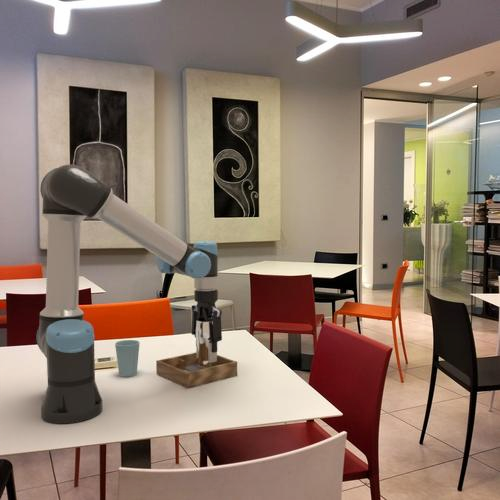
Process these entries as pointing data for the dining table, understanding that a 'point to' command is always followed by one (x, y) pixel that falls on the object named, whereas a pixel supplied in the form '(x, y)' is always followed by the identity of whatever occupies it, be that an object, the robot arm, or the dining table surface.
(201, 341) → the shiny metal cylinder
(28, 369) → the dining table surface
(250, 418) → the dining table surface
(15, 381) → the dining table surface
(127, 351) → the cup
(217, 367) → the caddy
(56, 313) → the robot arm
